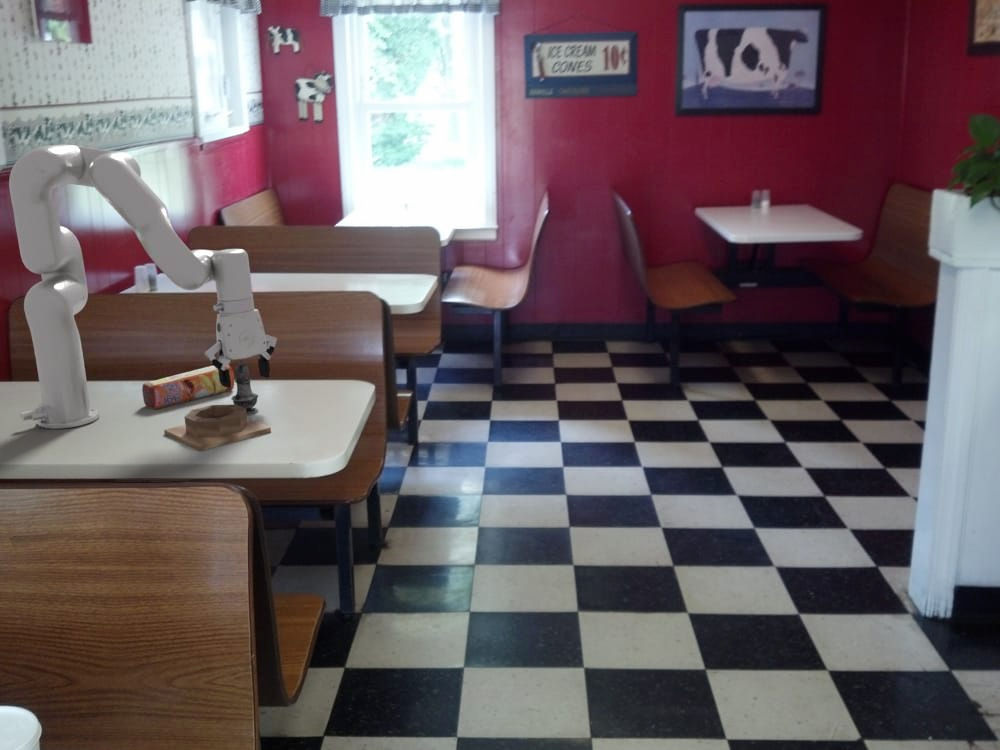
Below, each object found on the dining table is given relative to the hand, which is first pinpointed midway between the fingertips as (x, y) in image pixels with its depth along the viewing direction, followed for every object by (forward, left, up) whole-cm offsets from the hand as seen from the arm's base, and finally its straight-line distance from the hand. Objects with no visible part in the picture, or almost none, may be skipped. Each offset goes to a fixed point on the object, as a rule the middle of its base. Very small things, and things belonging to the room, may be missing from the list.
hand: (245, 381), depth 227 cm
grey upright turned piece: (0, 0, -7) cm, 7 cm away
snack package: (-3, +21, -8) cm, 22 cm away
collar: (-12, -9, -7) cm, 17 cm away
